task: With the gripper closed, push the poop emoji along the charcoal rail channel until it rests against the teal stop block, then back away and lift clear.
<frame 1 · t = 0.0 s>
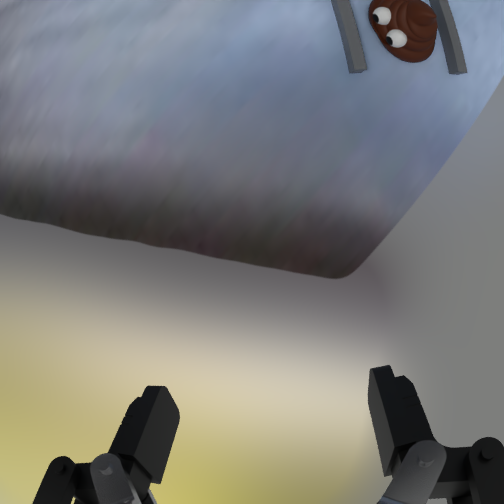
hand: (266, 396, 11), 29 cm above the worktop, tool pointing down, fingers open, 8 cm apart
poop emoji: (397, 30, 28), on the worktop
channel: (389, 1, 26), on the worktop
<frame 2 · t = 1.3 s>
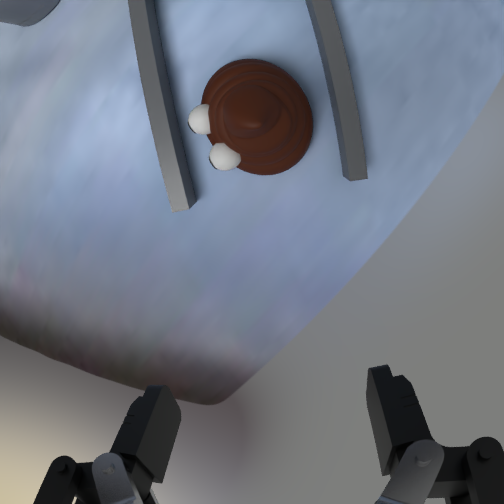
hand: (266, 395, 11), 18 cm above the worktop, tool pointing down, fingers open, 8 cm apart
poop emoji: (256, 117, 24), on the worktop
channel: (244, 70, 22), on the worktop
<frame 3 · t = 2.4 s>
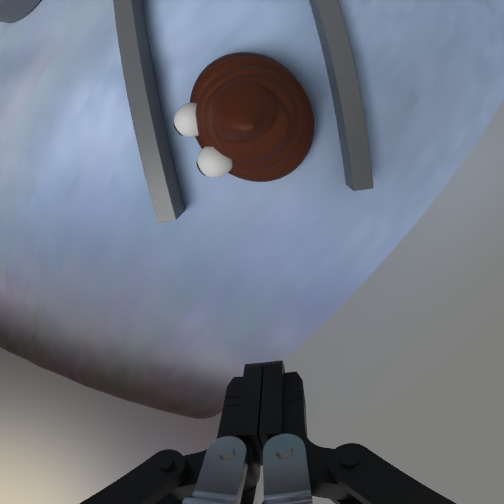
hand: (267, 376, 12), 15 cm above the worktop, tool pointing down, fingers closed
poop emoji: (250, 117, 22), on the worktop
channel: (237, 66, 20), on the worktop
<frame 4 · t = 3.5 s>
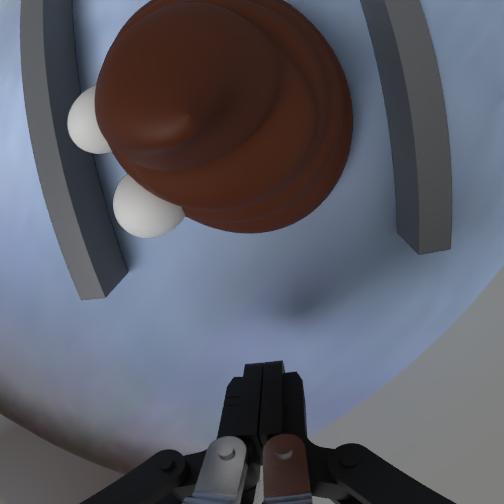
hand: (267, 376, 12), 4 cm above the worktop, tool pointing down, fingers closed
poop emoji: (232, 110, 12), on the worktop
channel: (207, 22, 10), on the worktop
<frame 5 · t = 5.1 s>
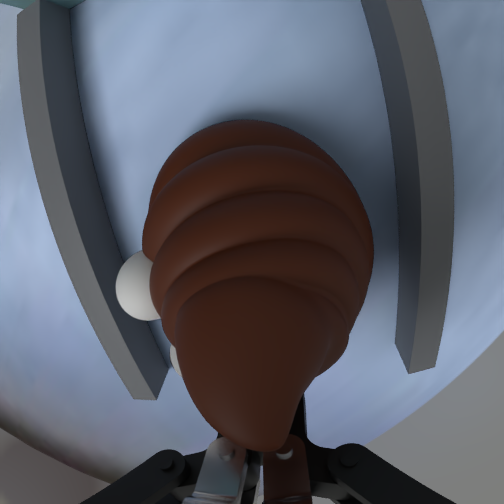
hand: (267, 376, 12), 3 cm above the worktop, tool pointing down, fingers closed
poop emoji: (260, 235, 13), on the worktop, touching gripper
channel: (237, 165, 12), on the worktop
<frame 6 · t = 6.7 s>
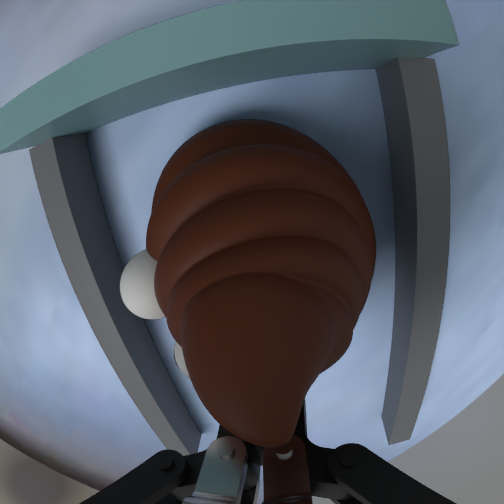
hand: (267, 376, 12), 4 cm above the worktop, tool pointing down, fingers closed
poop emoji: (262, 234, 14), on the worktop, touching gripper
channel: (265, 313, 15), on the worktop
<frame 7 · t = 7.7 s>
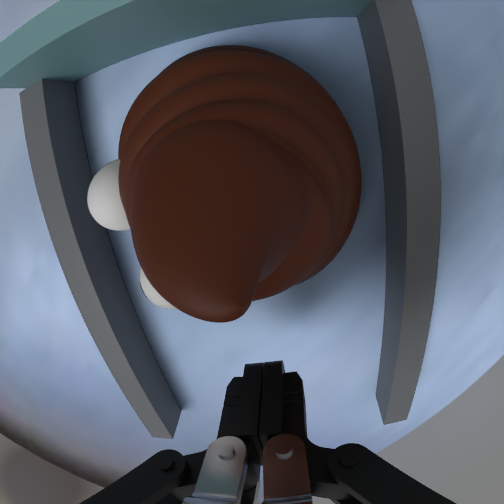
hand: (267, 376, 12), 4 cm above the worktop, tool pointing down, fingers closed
poop emoji: (243, 166, 13), on the worktop
channel: (246, 264, 14), on the worktop
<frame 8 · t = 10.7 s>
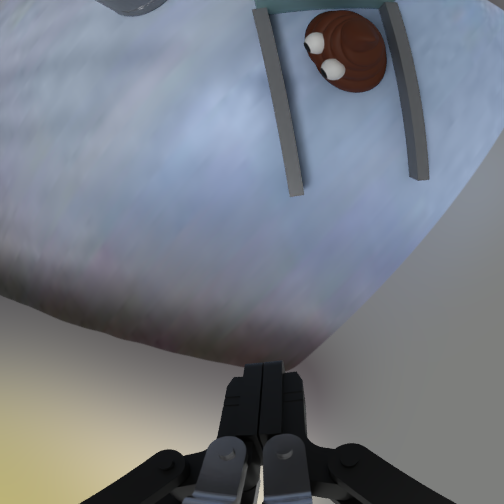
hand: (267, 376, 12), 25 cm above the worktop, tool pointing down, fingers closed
poop emoji: (342, 53, 28), on the worktop
channel: (344, 91, 29), on the worktop
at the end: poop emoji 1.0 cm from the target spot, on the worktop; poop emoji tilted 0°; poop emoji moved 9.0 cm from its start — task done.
